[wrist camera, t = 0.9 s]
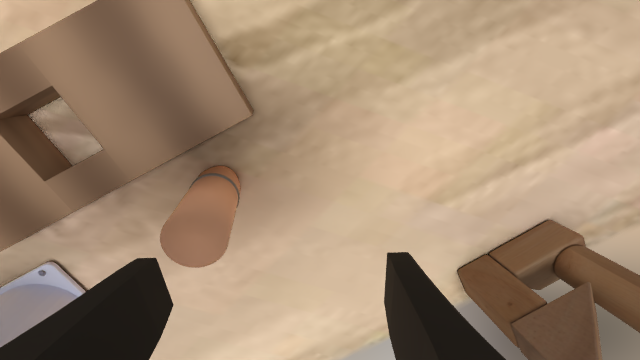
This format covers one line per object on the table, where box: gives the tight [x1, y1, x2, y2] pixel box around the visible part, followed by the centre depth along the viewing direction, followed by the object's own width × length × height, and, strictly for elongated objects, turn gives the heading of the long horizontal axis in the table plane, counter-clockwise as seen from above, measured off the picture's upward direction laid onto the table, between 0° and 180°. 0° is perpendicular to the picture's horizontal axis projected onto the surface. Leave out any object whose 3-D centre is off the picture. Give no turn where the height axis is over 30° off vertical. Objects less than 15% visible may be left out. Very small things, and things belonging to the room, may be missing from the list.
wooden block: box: [458, 220, 640, 360], centre depth 22 cm, size 4×11×18 cm, turn 118°
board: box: [0, 0, 254, 252], centre depth 19 cm, size 20×9×3 cm, turn 117°
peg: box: [160, 166, 241, 267], centre depth 19 cm, size 3×3×9 cm
